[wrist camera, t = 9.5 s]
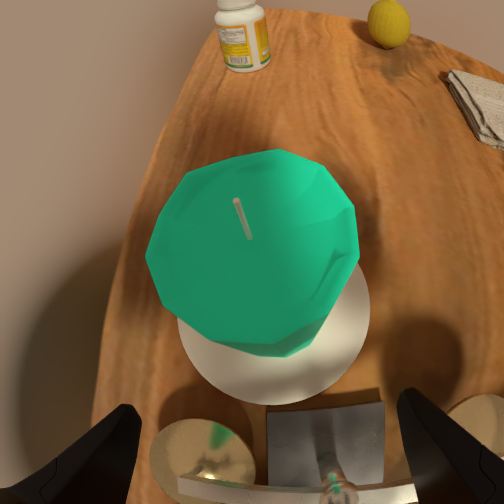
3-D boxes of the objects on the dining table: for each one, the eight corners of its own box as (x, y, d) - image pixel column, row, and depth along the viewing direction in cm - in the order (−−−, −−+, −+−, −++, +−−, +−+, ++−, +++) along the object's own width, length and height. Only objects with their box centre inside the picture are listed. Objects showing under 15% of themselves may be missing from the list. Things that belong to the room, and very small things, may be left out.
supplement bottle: (235, 79, 28) (217, 5, 20) (220, 61, 31) (202, -4, 22) (279, 65, 28) (270, -8, 20) (260, 48, 31) (248, -16, 22)
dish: (373, 393, 15) (377, 394, 15) (182, 401, 17) (176, 402, 16) (352, 217, 20) (354, 210, 19) (187, 231, 22) (182, 225, 21)
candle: (336, 275, 18) (383, 133, 7) (308, 371, 16) (335, 379, 5) (244, 251, 19) (181, 104, 8) (212, 340, 17) (81, 285, 6)
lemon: (357, 43, 29) (359, -8, 22) (384, 37, 30) (388, -9, 22) (387, 61, 27) (395, 7, 20) (413, 55, 28) (422, 6, 20)
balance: (467, 467, 12) (536, 495, 4) (167, 495, 14) (101, 542, 7) (471, 377, 14) (552, 370, 7) (161, 406, 17) (81, 418, 9)
